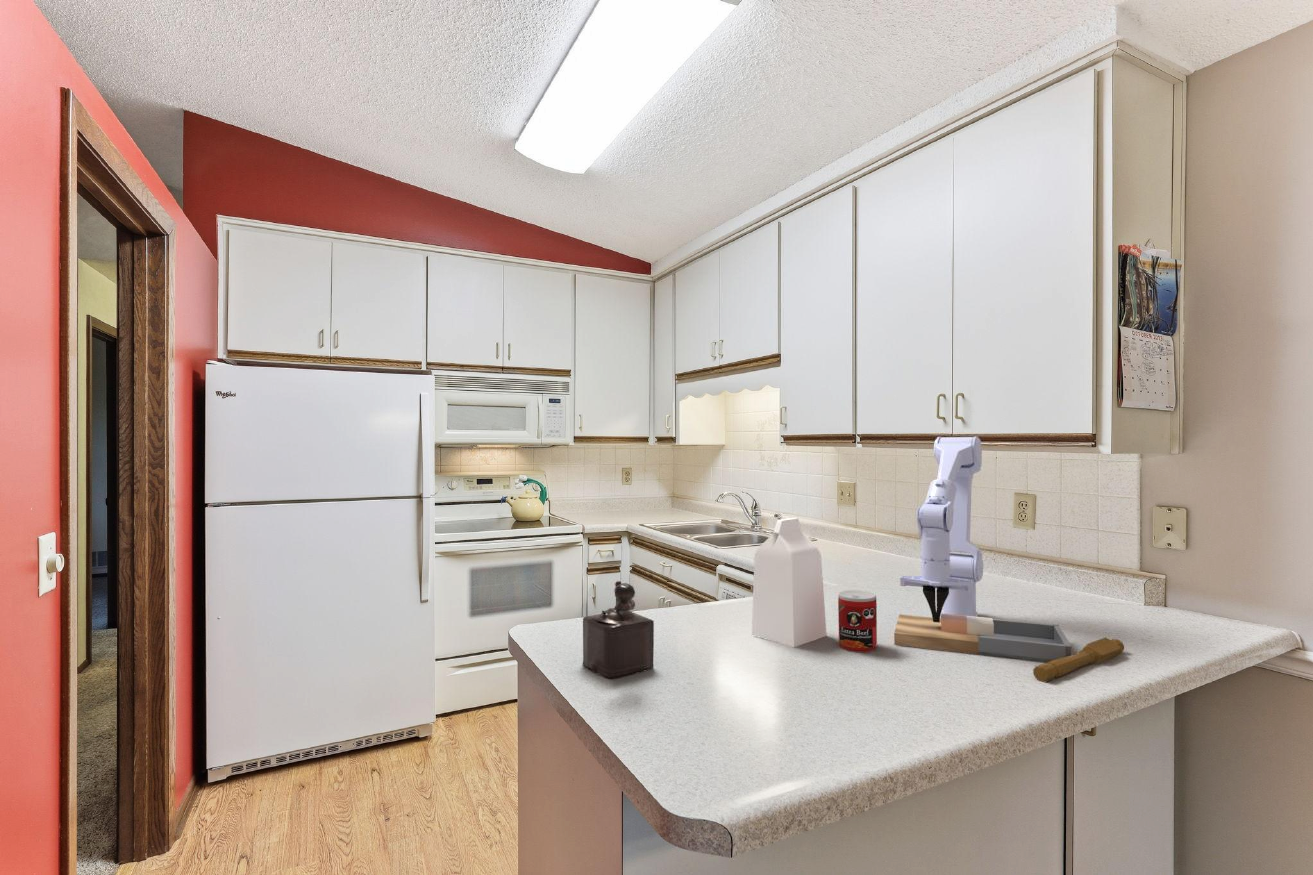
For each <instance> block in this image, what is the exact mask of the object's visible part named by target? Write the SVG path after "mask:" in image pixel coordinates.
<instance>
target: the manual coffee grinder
mask: <svg viewBox="0 0 1313 875" xmlns="http://www.w3.org/2000/svg"><path fill="white" fill-rule="evenodd" d="M614 586H615V587H614V589H613V592H614V597H615V606H614V607H609V608H608V609H606V610H601V613H599V614H594V615H589V616H588V615H587V616H583V618H582V655H583V656H582V665H583V666H584V665H585V666H584V667H586V668H587V669H589V670H590V671H591V672H594V673H595V674H598V675H600V676H603V677H605V678H608V679H616V678H623V677H628V676H631V675H635V673H636V674H638V673H637V672H640V673H642V671H643V672H645V671H644V670H646V671H649V670H652V669H653V668H654V646H655V645H654V644H655V640H654V639H655V638H654V637H655V633H654V632H655V631H654V630H655V629H654V627H655V623H654V622H655V620H652V619H651V618H648V617H646V616H643V615H640V614H638V613H636V612H633V611H631V610H634V609H636V602H635V600H633V598H634V597H635V596H636V591H635V588H634V586H633V585H631V584H629V583H626V582H625V583H623V582H622V581H620V580H617V581H616V582H615V583H614ZM651 668H652V669H651ZM648 669H649V670H648Z"/></svg>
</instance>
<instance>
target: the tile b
mask: <svg viewBox="0 0 1313 875" xmlns="http://www.w3.org/2000/svg"><path fill="white" fill-rule="evenodd" d="M993 619H994V618H992V617H983V616H978V617H975V616H967V633H968V634H977V635H985V636H994V623H993Z"/></svg>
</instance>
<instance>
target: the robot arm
mask: <svg viewBox="0 0 1313 875" xmlns="http://www.w3.org/2000/svg"><path fill="white" fill-rule="evenodd" d="M982 451H983V448H982V441H981V439H980V438H979V436H977V435H976V436H959V437H958V436H949V437H948V436H947V437H942V436H937V437H936V438H935V440H934V444H933V457H934V459H935V461H936V463H937V464H938V471H937V477H936V479H934V480H932V481H931V482H930V484H929V487H928V490H927V491H928V492H927V493H926V496H925V497H926V498H925V501H924V503H923V504H922V505H920V506H918V508H917V513H916V522H917V523H916V524H917V526H918V535H919V538H920V541H921V542H920V543H921V544H920V546H921V547H920V548H921V554H920V556H921V575H900V576H899V585H900V586H901V587H906V586H907V587H920V588H922V593H923V595H924V597H925V599H926V601H927V603H928V604H927V605H928V606H929V610H930V613H931V617H932V618H933V622H938V623H940V618H941V613H944V614H954V615H964V616H966V617H967V616H975V617H979V615H978V611H977V586H976V585H977V583H978V582H980V581H981V580H982V578H983V575H984V560H983V553H982V550H981V549H980V548H979V547H978V546H977V545H976V544H974V543H973V542H972V541H971V513H972V511H971V510H972V484H973V477H974V474H976V473H978V472H980V471H981V467H982V463H983V462H982V454H983V452H982ZM952 552H954V553H952ZM955 552H956V553H955ZM961 553H965V554H961Z"/></svg>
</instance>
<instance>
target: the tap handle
mask: <svg viewBox="0 0 1313 875" xmlns="http://www.w3.org/2000/svg"><path fill="white" fill-rule="evenodd" d="M1124 650H1125V645H1124V643H1123V642H1122V641H1121V640H1119V639H1117V638H1111V639H1110V638H1108V637H1106V636H1105V637H1103V638H1100V639H1097V640H1095V641H1091V642H1088V643H1086V645H1085V646H1084V647H1083V648H1082V649H1081V650H1080V651H1079V652H1078V653H1076V654H1075V653H1074V654H1072V655H1071V656H1067V657H1063V658H1060V659H1056V660H1053V661H1050V662H1043V663H1041V664H1038V665H1036V666H1034V668H1033V669H1032V673H1033V676H1034V677H1035V679H1036V681H1039V682H1042V683H1046V682H1050V681H1051V680H1054V679H1057V678H1058V677H1062V676H1065V675H1067V674H1068V673H1070V672H1072V671H1075V670H1076V669H1078V668H1080V667H1083V666H1085V665H1091V664H1095V665H1096V664H1099V663H1102V662H1104V661H1107V660H1109V659H1112V658H1114V657H1117V656H1118V655H1119V654H1121V653H1123V652H1124Z"/></svg>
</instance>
